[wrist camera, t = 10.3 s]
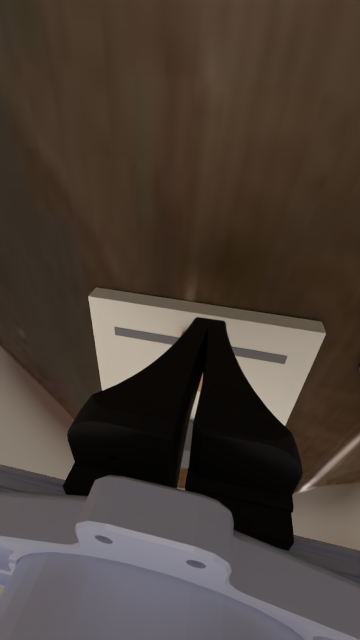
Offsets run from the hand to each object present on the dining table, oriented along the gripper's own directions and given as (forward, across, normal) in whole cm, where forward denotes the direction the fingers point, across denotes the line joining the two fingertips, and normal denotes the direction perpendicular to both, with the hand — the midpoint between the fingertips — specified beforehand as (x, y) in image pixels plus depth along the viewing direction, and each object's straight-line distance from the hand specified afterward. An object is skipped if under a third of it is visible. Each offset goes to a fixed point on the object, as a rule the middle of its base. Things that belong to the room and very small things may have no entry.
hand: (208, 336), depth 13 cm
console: (+9, +1, +12) cm, 15 cm away
